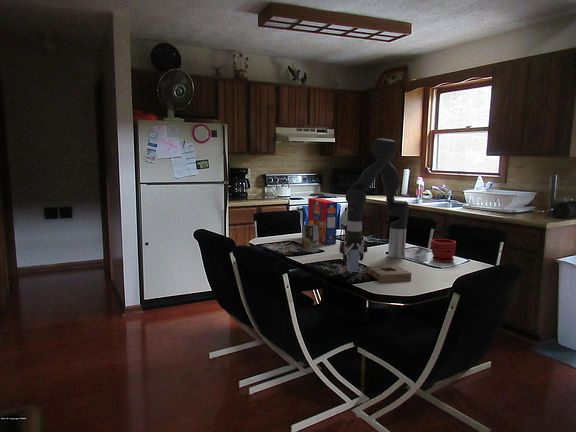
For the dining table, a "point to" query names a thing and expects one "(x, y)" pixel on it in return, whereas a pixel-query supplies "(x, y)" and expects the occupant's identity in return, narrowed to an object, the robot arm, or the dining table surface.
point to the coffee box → (310, 238)
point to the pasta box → (323, 218)
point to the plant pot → (443, 250)
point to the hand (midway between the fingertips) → (352, 260)
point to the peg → (353, 260)
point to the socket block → (388, 273)
